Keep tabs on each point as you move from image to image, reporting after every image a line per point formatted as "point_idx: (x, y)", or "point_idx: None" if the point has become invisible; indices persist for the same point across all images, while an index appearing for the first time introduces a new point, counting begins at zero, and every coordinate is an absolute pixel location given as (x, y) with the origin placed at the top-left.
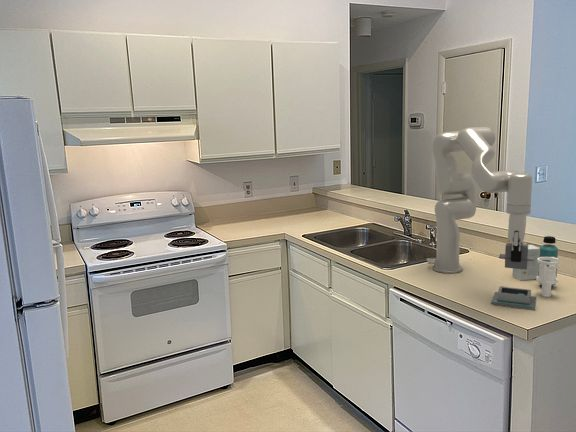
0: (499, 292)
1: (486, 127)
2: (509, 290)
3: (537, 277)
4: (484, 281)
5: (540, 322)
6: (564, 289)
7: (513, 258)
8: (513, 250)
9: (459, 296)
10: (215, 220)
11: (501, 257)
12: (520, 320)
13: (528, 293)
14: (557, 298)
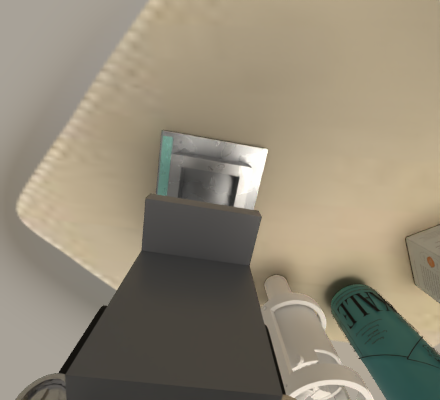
0: (178, 161)
1: None
2: (234, 198)
3: (300, 303)
4: (404, 120)
5: (70, 249)
6: (327, 327)
7: (99, 311)
8: (33, 397)
9: (222, 5)
10: None
11: (144, 218)
12: (62, 204)
13: None
14: None
